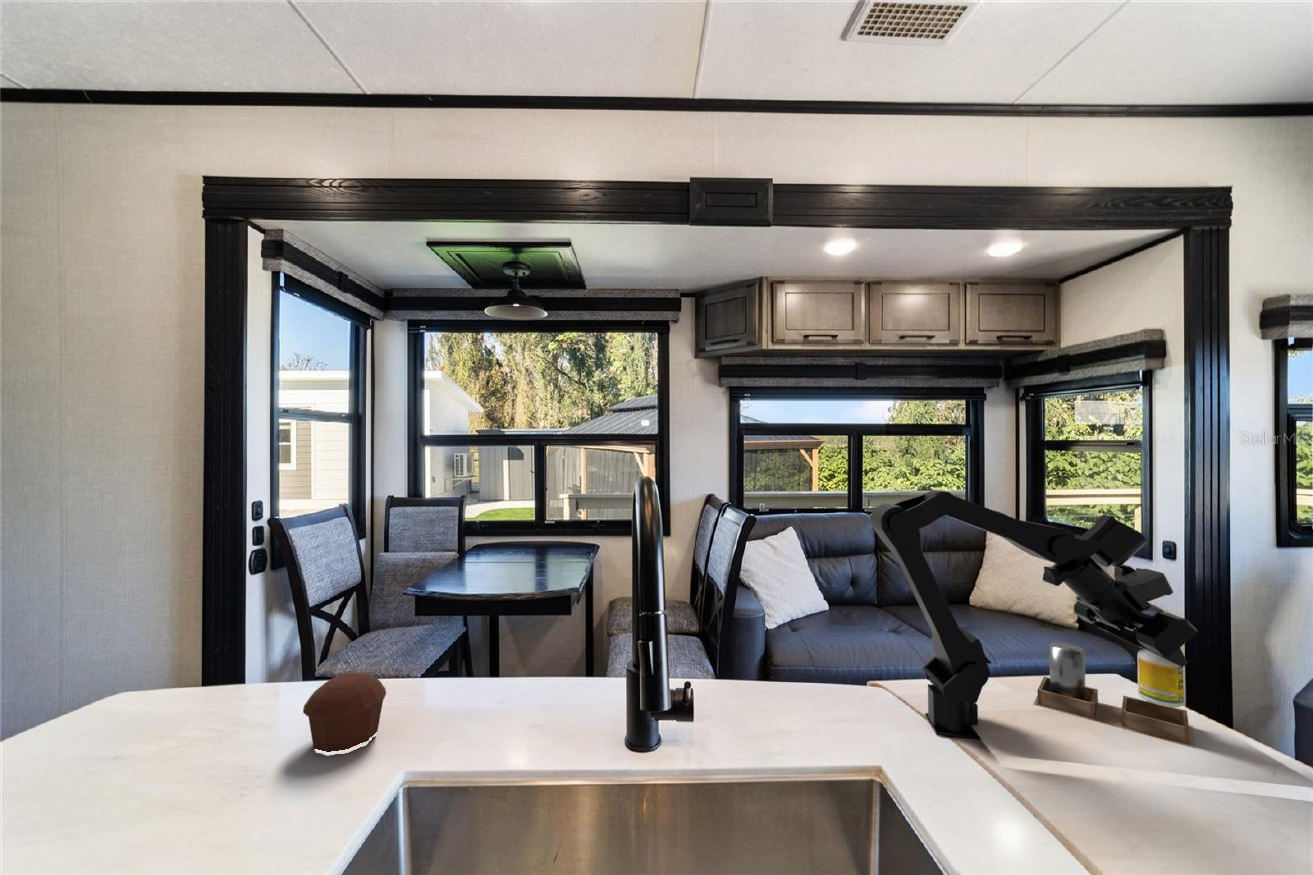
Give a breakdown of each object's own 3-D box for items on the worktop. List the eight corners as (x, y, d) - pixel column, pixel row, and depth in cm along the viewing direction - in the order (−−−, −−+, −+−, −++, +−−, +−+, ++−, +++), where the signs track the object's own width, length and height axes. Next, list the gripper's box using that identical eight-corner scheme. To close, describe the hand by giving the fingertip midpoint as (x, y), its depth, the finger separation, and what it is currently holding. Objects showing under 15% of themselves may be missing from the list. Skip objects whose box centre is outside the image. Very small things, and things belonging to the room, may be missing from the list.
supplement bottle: (1135, 689, 88) (1134, 632, 89) (1180, 699, 85) (1178, 639, 85) (1140, 701, 84) (1139, 641, 84) (1187, 711, 81) (1186, 649, 81)
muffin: (351, 717, 91) (353, 659, 91) (401, 728, 87) (402, 668, 88) (283, 754, 80) (285, 688, 80) (337, 769, 76) (338, 699, 77)
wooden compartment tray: (1192, 735, 86) (1191, 710, 86) (1195, 758, 79) (1194, 731, 79) (1041, 695, 100) (1040, 674, 100) (1033, 712, 93) (1032, 689, 93)
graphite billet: (1060, 709, 91) (1058, 651, 92) (1044, 696, 96) (1043, 641, 97) (1092, 711, 90) (1091, 653, 91) (1075, 698, 95) (1074, 643, 96)
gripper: (1181, 564, 76) (1268, 645, 75) (1091, 543, 95) (1159, 607, 93) (1123, 616, 77) (1207, 697, 75) (1044, 584, 96) (1111, 649, 94)
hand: (1169, 657), depth 85 cm, fingers closed on supplement bottle, 5 cm apart
